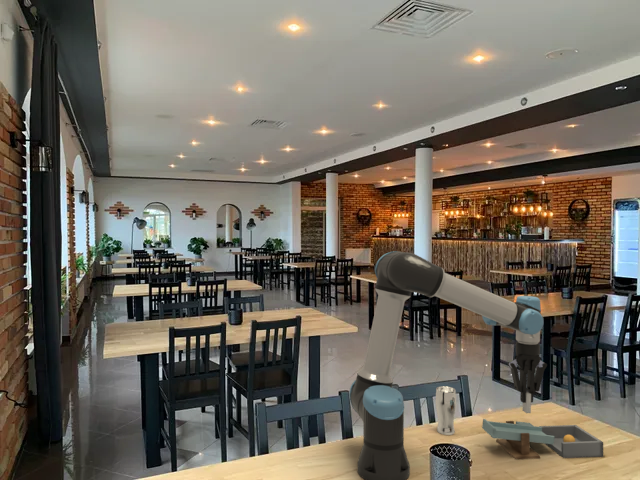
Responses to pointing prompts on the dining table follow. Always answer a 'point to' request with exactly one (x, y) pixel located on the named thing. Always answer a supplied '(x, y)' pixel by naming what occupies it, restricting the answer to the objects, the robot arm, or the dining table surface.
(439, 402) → the beer glass
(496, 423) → the lever
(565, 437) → the ball
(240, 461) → the dining table surface
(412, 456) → the dining table surface
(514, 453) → the fulcrum
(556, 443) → the grey shallow open box
